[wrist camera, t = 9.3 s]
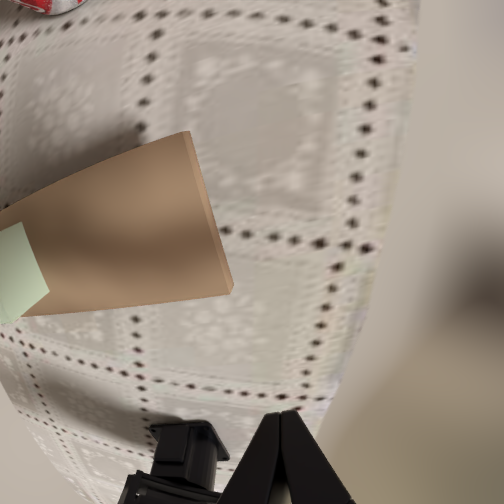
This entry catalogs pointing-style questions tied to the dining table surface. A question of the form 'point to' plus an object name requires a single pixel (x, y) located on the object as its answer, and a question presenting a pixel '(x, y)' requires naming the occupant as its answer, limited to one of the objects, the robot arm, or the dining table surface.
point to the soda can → (50, 5)
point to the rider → (18, 275)
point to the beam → (125, 232)
